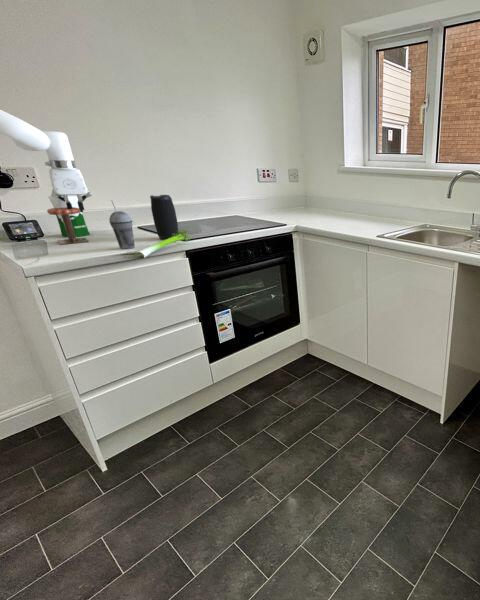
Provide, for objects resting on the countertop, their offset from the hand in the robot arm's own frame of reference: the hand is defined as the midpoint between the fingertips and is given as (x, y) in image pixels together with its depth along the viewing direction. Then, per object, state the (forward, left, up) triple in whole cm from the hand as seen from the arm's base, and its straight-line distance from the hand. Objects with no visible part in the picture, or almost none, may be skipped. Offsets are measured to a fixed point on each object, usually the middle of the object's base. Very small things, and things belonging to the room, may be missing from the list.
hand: (76, 211), depth 147 cm
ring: (-4, 0, +1) cm, 4 cm away
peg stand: (-4, 0, -13) cm, 14 cm away
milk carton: (-1, +21, -13) cm, 25 cm away
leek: (+22, -32, -13) cm, 41 cm away
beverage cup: (+10, -26, -13) cm, 31 cm away
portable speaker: (+29, -10, -13) cm, 34 cm away
